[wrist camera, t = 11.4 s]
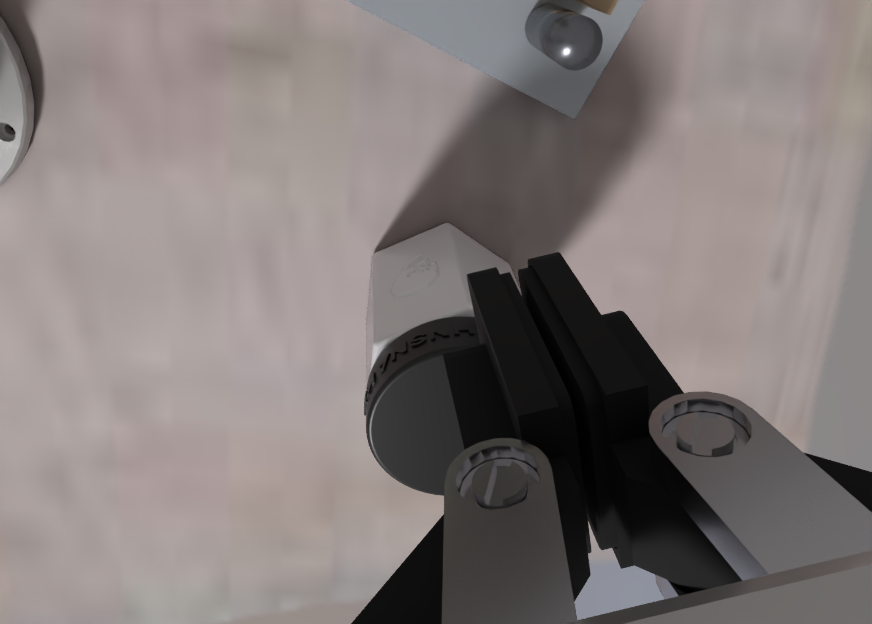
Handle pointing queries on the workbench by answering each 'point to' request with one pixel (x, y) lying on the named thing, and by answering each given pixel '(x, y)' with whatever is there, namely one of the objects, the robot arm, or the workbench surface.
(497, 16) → the jig board
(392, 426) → the jar
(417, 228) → the workbench surface
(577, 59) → the pivot pin
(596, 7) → the oak leg
